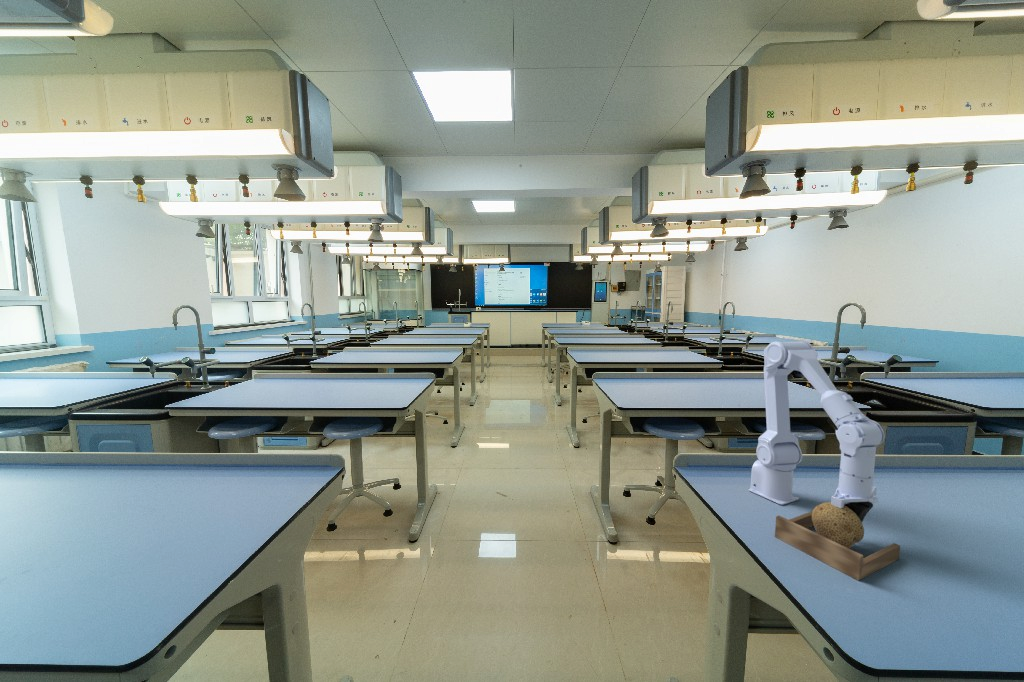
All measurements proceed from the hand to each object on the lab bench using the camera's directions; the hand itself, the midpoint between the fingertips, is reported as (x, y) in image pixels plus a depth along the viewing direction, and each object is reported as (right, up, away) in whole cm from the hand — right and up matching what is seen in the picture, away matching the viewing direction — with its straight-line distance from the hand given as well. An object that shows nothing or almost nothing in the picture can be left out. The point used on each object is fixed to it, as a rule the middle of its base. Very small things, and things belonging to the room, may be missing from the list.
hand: (851, 530), depth 90 cm
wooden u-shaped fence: (-5, -3, -2) cm, 6 cm away
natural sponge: (-5, -3, -2) cm, 7 cm away
